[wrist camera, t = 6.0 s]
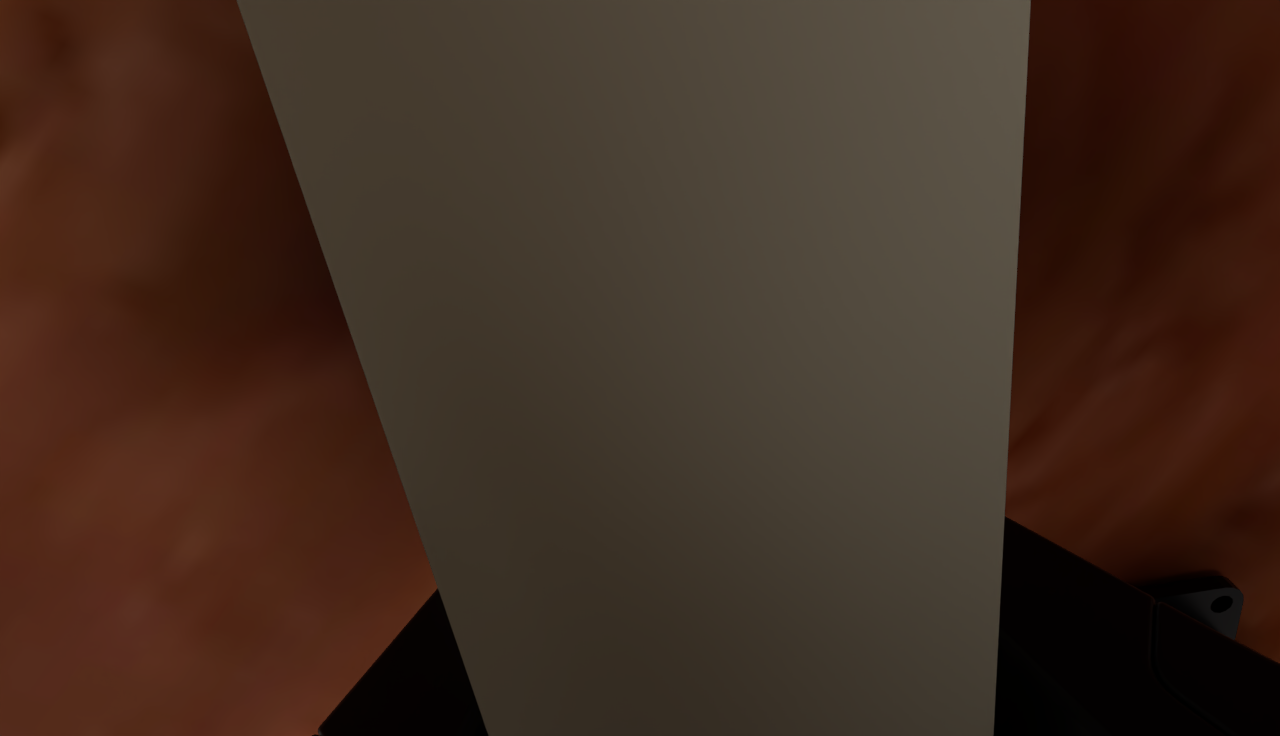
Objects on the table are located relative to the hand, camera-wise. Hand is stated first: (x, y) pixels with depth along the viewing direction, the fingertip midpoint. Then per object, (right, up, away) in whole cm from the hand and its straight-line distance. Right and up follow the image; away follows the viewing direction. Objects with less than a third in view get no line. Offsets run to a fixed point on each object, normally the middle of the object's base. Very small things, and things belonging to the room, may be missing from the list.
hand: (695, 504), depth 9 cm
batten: (0, +1, +1) cm, 1 cm away
